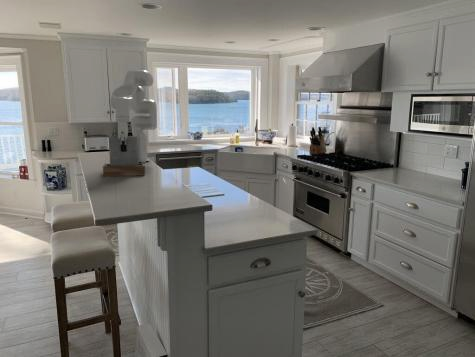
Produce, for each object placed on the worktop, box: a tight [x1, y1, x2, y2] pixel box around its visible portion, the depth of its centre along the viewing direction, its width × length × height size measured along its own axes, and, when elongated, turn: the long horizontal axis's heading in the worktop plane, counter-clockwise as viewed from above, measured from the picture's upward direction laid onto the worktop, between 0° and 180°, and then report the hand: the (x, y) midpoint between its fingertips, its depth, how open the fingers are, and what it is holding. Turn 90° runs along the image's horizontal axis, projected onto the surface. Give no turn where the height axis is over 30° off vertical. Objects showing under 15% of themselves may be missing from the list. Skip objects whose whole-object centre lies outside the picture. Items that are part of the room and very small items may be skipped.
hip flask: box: [108, 135, 139, 166], centre depth 216 cm, size 16×4×20 cm, turn 108°
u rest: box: [102, 162, 146, 178], centre depth 219 cm, size 12×23×6 cm, turn 103°
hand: (124, 150), depth 217 cm, fingers closed on hip flask, 4 cm apart
